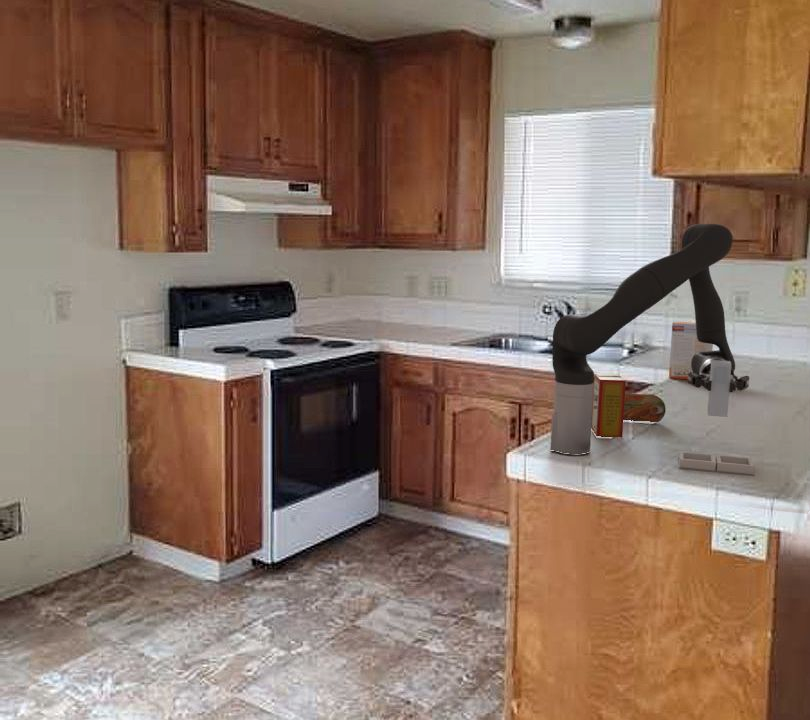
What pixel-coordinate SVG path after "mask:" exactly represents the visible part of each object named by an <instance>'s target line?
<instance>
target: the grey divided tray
mask: <svg viewBox="0 0 810 720" xmlns="http://www.w3.org/2000/svg"><path fill="white" fill-rule="evenodd" d="M677 457H678V458H677V461H678V462H677V463H678V465H677V467H678V470H682V471H683V470H685V471H695V472H703V473H704V472H706V473H712V474H713V473H714V474H715V473H716V474H724V475H725V474H726V475H737V476H743V477H744V476H745V477H756V475H755V472H754V471H755V463H754V461H753V459H752V457H745V456H737V455H735V456H734V455H724V454H712V453H702V452H692V451H679V456H677Z"/></svg>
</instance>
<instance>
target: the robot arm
mask: <svg viewBox="0 0 810 720" xmlns="http://www.w3.org/2000/svg"><path fill="white" fill-rule="evenodd" d="M733 238H734V237H733V234H732V232H731V230H730V228H728V227H727V226H724V225H721V224H717V223H696V224H692V225H689V226H688V227H687V228H686V229H685V230H684V231H683V233H682V237H681V243H680V244H681V245H680V246H681V249H680V250H679V251H677V252H675V253H672V254H669V255H666V256H664V257H661V258H659V259H657V260H654V261H651V262H649V263H647V264H645V265H643V266H641V267H640V268H638V269H637V270H635V271H634V272H633V273H631V274H629V276H627V277H626V278H625V279H624V280H622V282H620V284H619V286H618V287H617V289H616V290H615V292H614V293H613V296H612V297H611V298H610V299H609V301H608V302H607V303H605V304H604V305H602V306H601V307H599V308H598V309H597V310H595V311H594V312H592V313H589V314H588V315H586V316H585V315H579V314H571V313H570V314H565V315H563V316H561V317H560V318H559V319H558V320H557V321H556V323H555V325H554V329H553V332H552V359H551V360H552V362H551V363H552V369H553V372H554V376H555V377H554V393H553V396H554V397H553V412H552V414H551V429H550V430H551V432H550V450H554V451H559V452H562V453H569V454H582V453H587V452H589V451H590V452H591V446H592V445H591V439H592V431H591V426H592V409H593V391H594V374H595V372H594V370H593V369H592V367H591V366H590V365H589V363H588V360H587V356H588V355H592V354H593V353H595V352H596V351H598V350H599V349H600V348H602V347H603V346H604V345H605V344H606V343H607V342H608V341H609V340H610V339H612V338H613V336H615V335H616V334H617V333H618V332H619V331H620V330H621V329H623V328H624V327H625V326H626V325H628V324H629V323H631V322H632V321H634V320H635V319H636V318H637V317H639V316H640V315H642V314H643V313H644V312H646V311H648V310H649V309H651V308H652V307H654V306H655V305H656V304H657V303H659V302H660V301H661V300H663V299H664V298H665V297H666V296H668V295H669V294H670V293H672V292H673V291H674V290H676V289H677V288H679V287H681V285H683V284H684V283H686V282H687V281H689V285H690V291H691V294H692V299H693V305H694V316H695V317H694V318H695V323H696V334H697V339H698V341H700V342H702V343H708V344H713V346H716V347H718V350H712V351H707V352H706V351H702V352H698V353H696V354H695V355H694V356H693V358H692V360H691V368H692V371H693V373H692V372H690V373H688V380H687V384H689V385H691V386H692V387H694V388H698V389H699V388H701V387H703V389H704V390H707V391H708V392H709V391H711V383H712V381H711V379H710V373H711V360H720V361H730V362H731V377H730V388H729V393H733V392H734V391H736V390H737V391H741V392H742V391H744V390H746V389H747V388H749V384H750V376H749V375H742V376H740V377H739V378H738V376H737V375H735V370H736V362H735V359H734V356H733V354H732V350H731V349H730V346H729V345H730V344H729V342H728V340H727V339H728V338H727V334H726V322H725V321H726V320H725V319H726V318H725V311H724V306H723V302H722V300H721V298H720V296H719V293H718V291H717V289H716V287H715V285H714V282H713V280H712V276H711V272H710V267H711V266H713V265H714V264H716V263H719V262H720V261H721V260H722V259H724V258H725V257H726V256H727V255H728V253H729V252H730V251H731V249H732V246H733V241H734V239H733ZM550 450H549V451H550Z"/></svg>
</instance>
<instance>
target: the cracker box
mask: <svg viewBox="0 0 810 720" xmlns="http://www.w3.org/2000/svg"><path fill="white" fill-rule="evenodd" d="M713 346H714V344H708V343H702V342H700V341H698V339H697V334H696V322H693V321H692V322H690V321H675V322H672V326H671V339H670V351H669V353H670V354H669V355H670V357H669V370H668V371H669V372H668V378H669V379H675V380H676V379H677V380H687V381H688V373H690V372H692V373H693V371H692V368H691V360H692V358H693V356H694V355H695V354H696V353H698V352H702V351H706V352H707V351H713Z"/></svg>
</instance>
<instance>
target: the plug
mask: <svg viewBox="0 0 810 720" xmlns="http://www.w3.org/2000/svg"><path fill="white" fill-rule="evenodd" d="M730 377H731V362H730V361H720V360H711V373H710V379H711V381H712V383H711V391H708V401H707V416H709V417H719V418H720V417H721V418H728V413H729V399H730V398H729V397H730V392H729V388H730Z"/></svg>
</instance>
